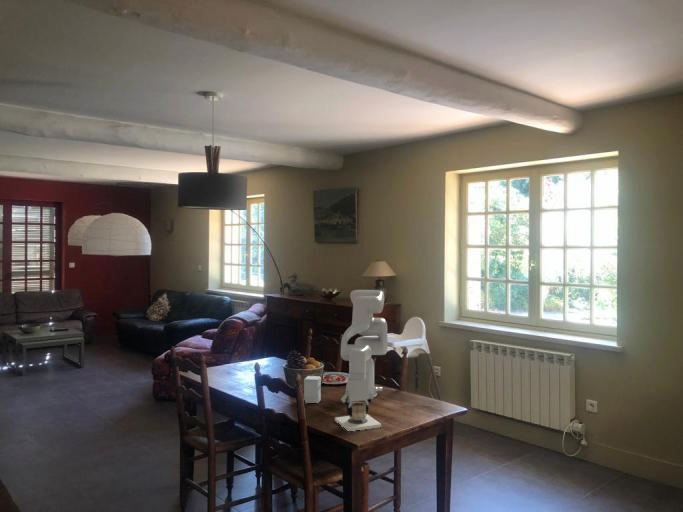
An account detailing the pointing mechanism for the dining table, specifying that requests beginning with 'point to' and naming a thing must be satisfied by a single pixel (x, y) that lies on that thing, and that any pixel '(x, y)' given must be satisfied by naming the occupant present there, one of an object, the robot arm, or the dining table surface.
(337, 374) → the ceramic plate
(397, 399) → the dining table surface
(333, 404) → the dining table surface
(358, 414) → the beech collar
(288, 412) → the dining table surface
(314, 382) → the supplement box
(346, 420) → the steel post stand
